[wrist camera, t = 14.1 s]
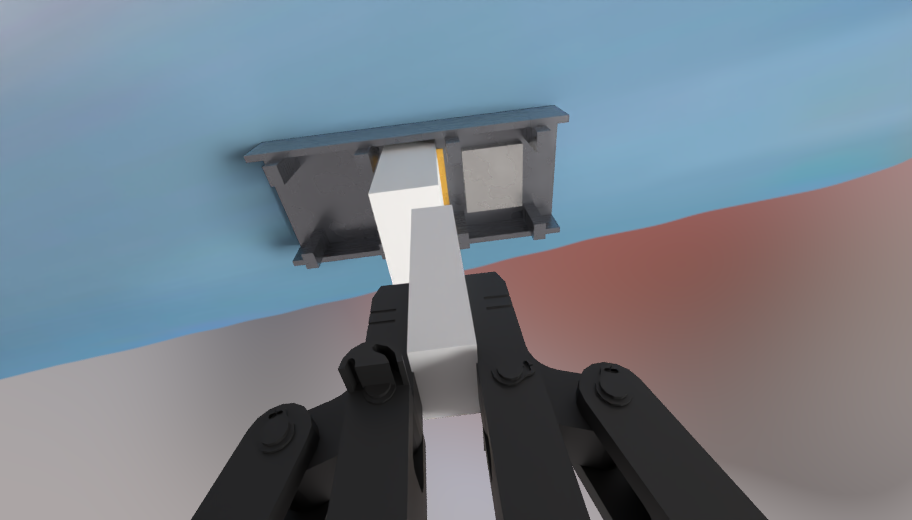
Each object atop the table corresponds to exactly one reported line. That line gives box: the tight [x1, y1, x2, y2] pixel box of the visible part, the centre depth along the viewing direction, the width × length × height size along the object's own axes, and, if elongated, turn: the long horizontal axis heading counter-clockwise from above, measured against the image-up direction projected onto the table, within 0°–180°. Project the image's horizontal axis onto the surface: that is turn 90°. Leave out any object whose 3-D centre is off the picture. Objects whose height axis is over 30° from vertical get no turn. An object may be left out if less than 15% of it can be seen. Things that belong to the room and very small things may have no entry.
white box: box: [368, 139, 444, 285], centre depth 26 cm, size 4×8×10 cm, turn 6°
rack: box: [243, 105, 569, 269], centre depth 29 cm, size 24×11×5 cm, turn 96°
